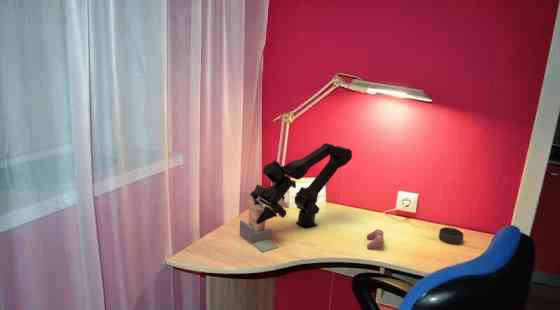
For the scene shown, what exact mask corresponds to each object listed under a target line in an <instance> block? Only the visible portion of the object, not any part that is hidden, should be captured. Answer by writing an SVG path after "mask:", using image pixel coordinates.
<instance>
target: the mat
mask: <svg viewBox="0 0 560 310" xmlns="http://www.w3.org/2000/svg"><path fill="white" fill-rule="evenodd" d="M251 245H252V246H253V247H254V248H256V249H257V250H258V251H259V252H261V253H265V252H268V251H272V250H276V249H279V246H278V245H276V243H273V242H272V241H271V240H270V239H267V240H263V241H259V242H256V243H252V244H251Z"/></svg>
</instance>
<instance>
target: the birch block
mask: <svg viewBox="0 0 560 310" xmlns="http://www.w3.org/2000/svg"><path fill="white" fill-rule="evenodd" d="M264 208H265V206H264V205H263V206H261V205H260V204H259V205H249V207H248V224H249V225H250V226H251V227H253V228H254V233H257V232H261V231H265V230H266V228H265V227H266V221H264V222H262V223H260V224H257V223H256V222H257V220H258V219H259V217H260V216H261V214H262V213H263V212H264Z"/></svg>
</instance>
